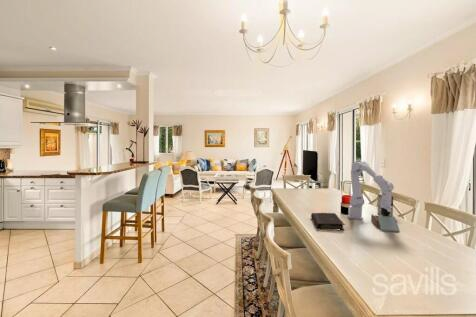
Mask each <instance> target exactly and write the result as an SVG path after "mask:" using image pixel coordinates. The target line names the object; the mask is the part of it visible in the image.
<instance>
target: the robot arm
mask: <svg viewBox="0 0 476 317" xmlns="http://www.w3.org/2000/svg"><path fill="white" fill-rule="evenodd" d="M362 171H363V172H366V173H367V174H368V175H369V176H371V177H372V178H373V180H372V181H374V182H375V184H377V185H378V186H379V188H380V190H381V195H382V201H381V207H382V208H381V211H382V214H383V216H387V217H388V216H389V214H390V212H391V208H393V209H394V206H393V207H392V206H391V196H392V191H393V190H394V184H393V183H392V182H389V181H388V180H386V179H385V177H383V175H380V174H377V173H376V172H375V171H374V169H372V167H370V165H369V164H368V163H367V162H366V161H354V162H352V164H351V169H350V179H351V190H352V194H351V195H350V199H349V204H350V205H349V206H348V212H347V214H348V217H349V219H355V220H356V219H358V220H363V219H364V218H363V217H362V216H363V205H364V204H365V199H364V197H363V195H362V193H361V186H360V173H361V172H362Z"/></svg>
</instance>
